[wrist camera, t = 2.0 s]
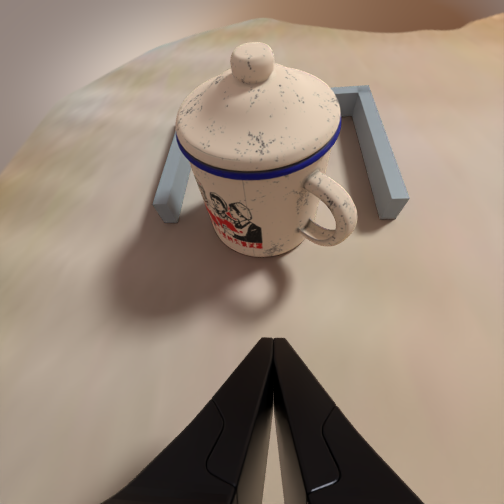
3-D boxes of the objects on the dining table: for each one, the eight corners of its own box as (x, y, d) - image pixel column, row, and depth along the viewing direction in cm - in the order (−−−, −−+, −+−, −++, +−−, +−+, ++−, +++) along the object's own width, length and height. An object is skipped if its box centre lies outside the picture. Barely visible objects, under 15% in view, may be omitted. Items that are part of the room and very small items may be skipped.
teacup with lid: (190, 214, 22) (116, 58, 12) (266, 162, 24) (260, -3, 14) (286, 314, 16) (304, 193, 6) (371, 236, 19) (479, 60, 9)
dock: (395, 218, 20) (409, 198, 17) (164, 222, 21) (152, 204, 19) (361, 108, 27) (368, 85, 25) (192, 118, 29) (186, 97, 27)
